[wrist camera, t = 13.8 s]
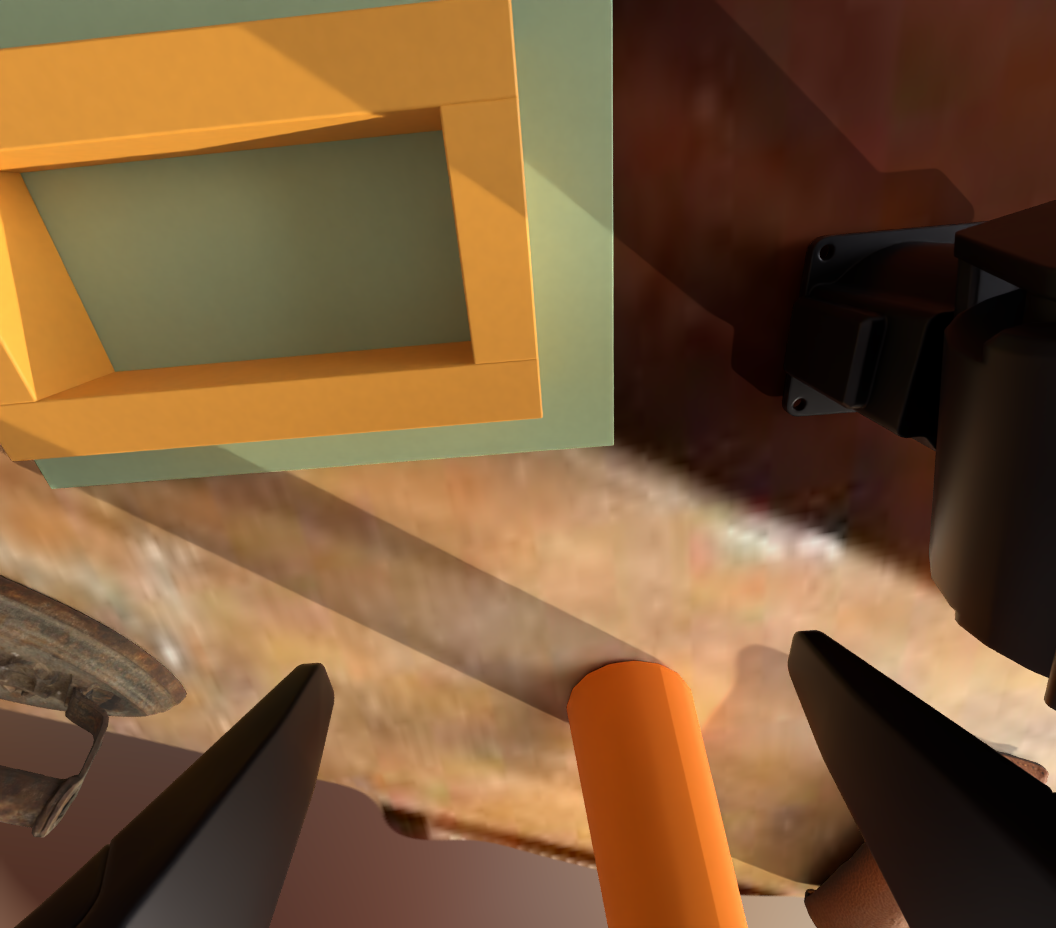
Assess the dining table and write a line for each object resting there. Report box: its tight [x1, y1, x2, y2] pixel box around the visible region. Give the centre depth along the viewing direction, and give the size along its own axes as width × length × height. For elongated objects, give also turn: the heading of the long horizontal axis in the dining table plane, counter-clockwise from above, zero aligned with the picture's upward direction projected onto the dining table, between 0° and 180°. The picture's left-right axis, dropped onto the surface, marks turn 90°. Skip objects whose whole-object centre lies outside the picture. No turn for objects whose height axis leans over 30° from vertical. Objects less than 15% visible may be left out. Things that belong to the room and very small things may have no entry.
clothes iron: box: [0, 577, 186, 837], centre depth 23 cm, size 7×11×10 cm, turn 58°
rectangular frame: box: [0, 0, 543, 461], centre depth 15 cm, size 18×10×3 cm, turn 95°
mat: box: [0, 0, 614, 489], centre depth 17 cm, size 24×16×1 cm, turn 95°
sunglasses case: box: [804, 751, 1049, 928], centre depth 32 cm, size 18×7×7 cm
